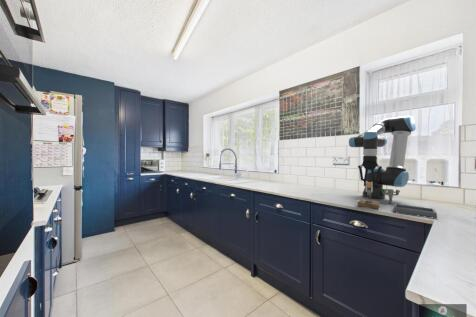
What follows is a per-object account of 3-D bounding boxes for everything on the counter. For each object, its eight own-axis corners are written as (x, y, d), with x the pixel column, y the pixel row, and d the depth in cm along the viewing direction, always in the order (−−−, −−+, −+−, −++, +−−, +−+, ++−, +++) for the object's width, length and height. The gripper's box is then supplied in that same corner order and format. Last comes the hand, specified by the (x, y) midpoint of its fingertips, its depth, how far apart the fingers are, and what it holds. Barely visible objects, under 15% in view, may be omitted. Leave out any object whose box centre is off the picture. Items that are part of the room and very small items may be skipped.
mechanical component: (400, 204, 136) (400, 190, 135) (383, 203, 138) (383, 189, 137) (397, 203, 139) (397, 189, 138) (380, 202, 141) (381, 188, 140)
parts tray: (393, 208, 126) (394, 203, 126) (433, 213, 115) (433, 208, 115) (393, 212, 118) (394, 207, 118) (436, 218, 106) (436, 213, 106)
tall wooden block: (367, 197, 133) (367, 182, 132) (371, 197, 131) (371, 182, 131) (366, 198, 129) (366, 182, 128) (370, 198, 127) (371, 183, 127)
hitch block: (359, 203, 138) (360, 199, 138) (379, 206, 131) (379, 201, 131) (357, 206, 129) (357, 202, 129) (378, 209, 122) (378, 205, 122)
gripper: (355, 155, 131) (354, 191, 132) (384, 155, 122) (383, 194, 122) (357, 155, 137) (356, 189, 137) (384, 155, 127) (383, 192, 128)
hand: (369, 191), depth 130 cm, fingers closed on tall wooden block, 2 cm apart
